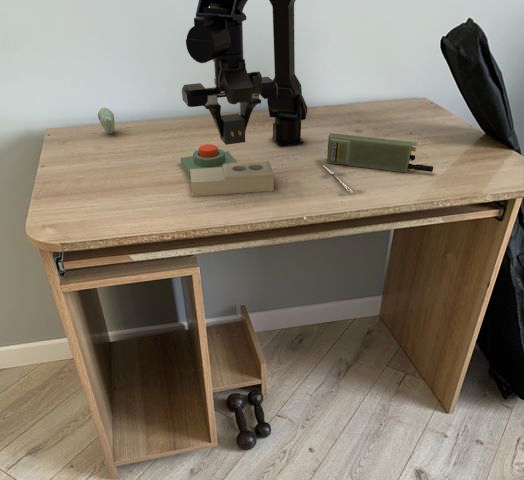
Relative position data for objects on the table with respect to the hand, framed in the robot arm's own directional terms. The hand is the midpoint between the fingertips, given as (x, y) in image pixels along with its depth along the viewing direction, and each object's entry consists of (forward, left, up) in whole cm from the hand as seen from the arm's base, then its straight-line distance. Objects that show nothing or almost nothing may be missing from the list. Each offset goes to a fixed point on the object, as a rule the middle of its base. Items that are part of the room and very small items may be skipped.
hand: (232, 135), depth 107 cm
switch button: (+3, -11, -8) cm, 14 cm away
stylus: (-23, +4, -11) cm, 26 cm away
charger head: (0, 0, -1) cm, 1 cm away
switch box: (+3, -11, -11) cm, 16 cm away
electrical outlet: (+1, +1, -11) cm, 11 cm away
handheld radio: (-35, +3, -11) cm, 37 cm away
